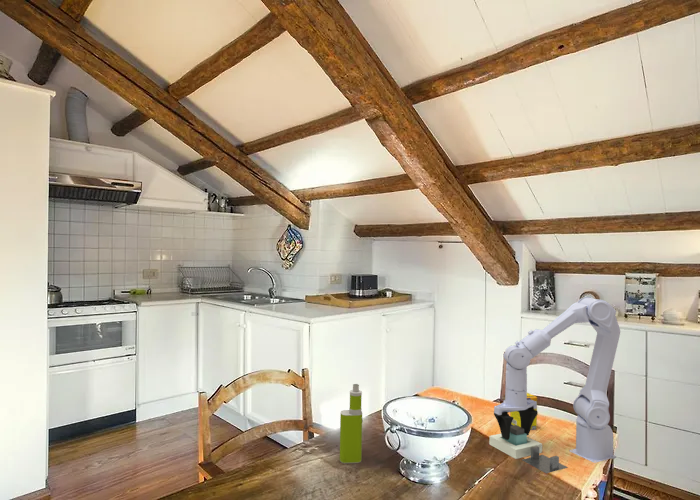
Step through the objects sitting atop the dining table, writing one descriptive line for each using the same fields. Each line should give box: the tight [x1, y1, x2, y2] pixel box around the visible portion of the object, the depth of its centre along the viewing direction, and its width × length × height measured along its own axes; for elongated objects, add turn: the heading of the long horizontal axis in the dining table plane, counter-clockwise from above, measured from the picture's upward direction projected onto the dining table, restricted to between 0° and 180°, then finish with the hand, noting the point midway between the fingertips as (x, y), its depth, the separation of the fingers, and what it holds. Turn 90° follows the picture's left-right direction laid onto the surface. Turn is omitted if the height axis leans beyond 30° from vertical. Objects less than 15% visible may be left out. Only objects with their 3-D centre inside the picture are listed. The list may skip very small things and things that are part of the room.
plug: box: [506, 425, 528, 446], centre depth 124 cm, size 4×4×7 cm
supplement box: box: [509, 392, 538, 431], centre depth 141 cm, size 6×6×11 cm
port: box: [488, 433, 543, 460], centre depth 124 cm, size 10×10×3 cm
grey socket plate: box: [521, 446, 569, 474], centre depth 115 cm, size 8×8×4 cm
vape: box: [339, 383, 363, 464], centre depth 116 cm, size 4×6×20 cm, turn 98°
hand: (515, 436), depth 124 cm, fingers open, 7 cm apart
